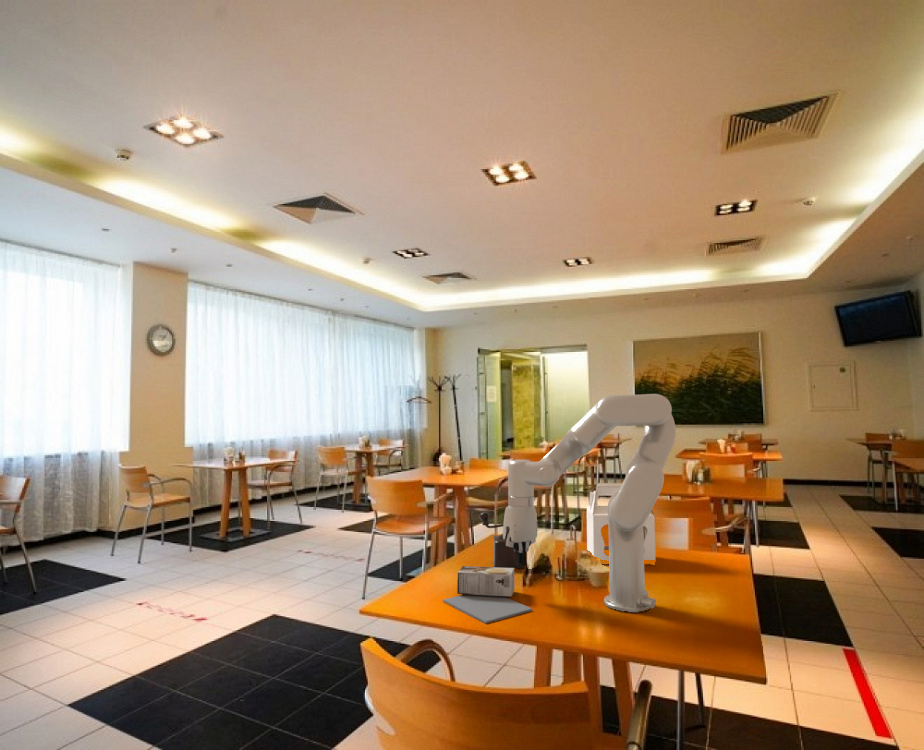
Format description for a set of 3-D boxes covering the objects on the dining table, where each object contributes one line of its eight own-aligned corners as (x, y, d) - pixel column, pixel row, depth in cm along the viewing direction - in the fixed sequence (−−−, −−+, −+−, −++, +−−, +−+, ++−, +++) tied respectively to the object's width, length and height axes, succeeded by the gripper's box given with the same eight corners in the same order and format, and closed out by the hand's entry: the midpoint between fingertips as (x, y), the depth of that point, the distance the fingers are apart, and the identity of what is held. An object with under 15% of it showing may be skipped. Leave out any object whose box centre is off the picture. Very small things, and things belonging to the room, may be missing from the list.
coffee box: (514, 589, 165) (462, 586, 168) (514, 567, 166) (462, 565, 169) (511, 597, 156) (456, 594, 159) (511, 573, 157) (457, 571, 160)
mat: (532, 610, 149) (532, 608, 149) (485, 623, 140) (485, 621, 140) (487, 591, 165) (487, 589, 165) (442, 601, 156) (442, 599, 156)
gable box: (593, 564, 195) (591, 485, 197) (586, 555, 208) (585, 480, 210) (656, 565, 194) (654, 485, 196) (645, 555, 207) (644, 481, 209)
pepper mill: (521, 560, 200) (520, 510, 201) (525, 569, 189) (524, 516, 190) (478, 560, 200) (478, 510, 201) (480, 569, 188) (480, 516, 190)
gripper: (531, 498, 169) (531, 558, 168) (493, 502, 161) (493, 566, 159) (548, 501, 163) (548, 564, 162) (509, 506, 155) (509, 572, 153)
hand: (521, 565), depth 161 cm, fingers closed
